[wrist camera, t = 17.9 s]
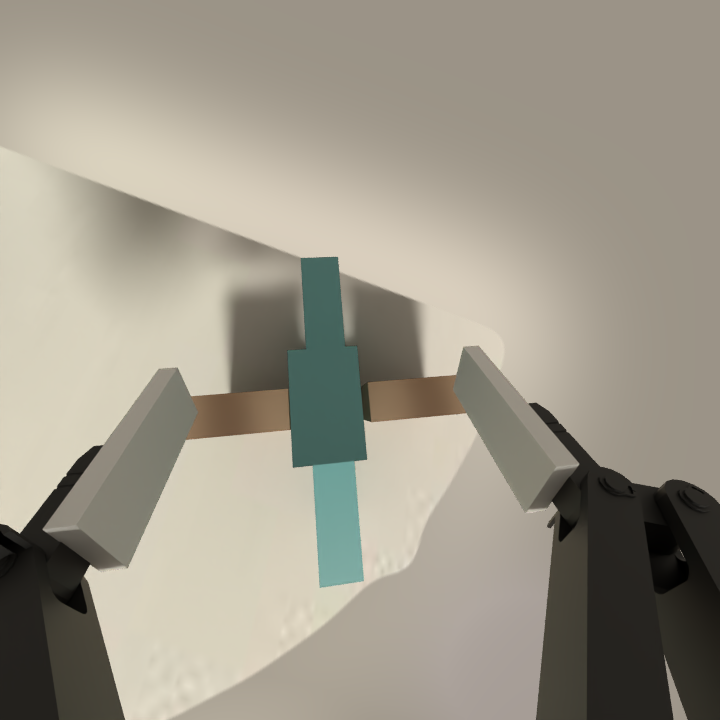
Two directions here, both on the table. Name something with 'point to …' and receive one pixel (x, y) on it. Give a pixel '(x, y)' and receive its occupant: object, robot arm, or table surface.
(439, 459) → the table surface
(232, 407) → the walnut slotted plate
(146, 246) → the table surface
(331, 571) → the teal slotted plate
